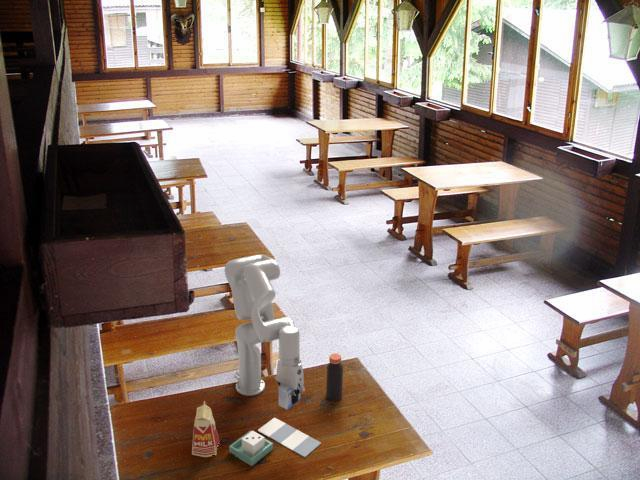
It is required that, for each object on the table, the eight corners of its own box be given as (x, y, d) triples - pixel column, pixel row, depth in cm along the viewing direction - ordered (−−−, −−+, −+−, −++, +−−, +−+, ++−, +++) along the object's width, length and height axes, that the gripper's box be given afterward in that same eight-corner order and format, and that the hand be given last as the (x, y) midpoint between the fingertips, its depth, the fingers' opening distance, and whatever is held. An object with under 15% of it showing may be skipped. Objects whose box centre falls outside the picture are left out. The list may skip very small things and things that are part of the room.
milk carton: (196, 440, 246) (193, 397, 239) (220, 441, 246) (218, 398, 238) (191, 457, 238) (188, 413, 230) (215, 458, 238) (213, 414, 230)
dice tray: (229, 452, 241) (229, 446, 239) (250, 436, 249) (250, 430, 248) (251, 466, 234) (251, 459, 233) (272, 449, 243) (272, 443, 241)
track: (257, 430, 252) (257, 430, 252) (274, 418, 260) (274, 417, 259) (304, 457, 239) (304, 456, 239) (321, 443, 246) (321, 442, 246)
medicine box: (287, 410, 238) (287, 390, 235) (278, 405, 241) (277, 386, 237) (300, 400, 244) (300, 381, 241) (291, 396, 246) (291, 376, 243)
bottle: (324, 399, 271) (325, 359, 264) (328, 390, 278) (329, 351, 270) (340, 402, 270) (341, 362, 262) (343, 392, 276) (344, 353, 268)
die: (242, 451, 240) (241, 438, 238) (253, 443, 245) (252, 430, 242) (253, 458, 237) (253, 445, 235) (264, 449, 241) (264, 437, 239)
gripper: (313, 362, 233) (313, 403, 240) (279, 346, 243) (279, 387, 249) (300, 370, 227) (300, 413, 234) (265, 354, 237) (266, 396, 244)
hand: (289, 399), depth 242 cm, fingers closed on medicine box, 4 cm apart
